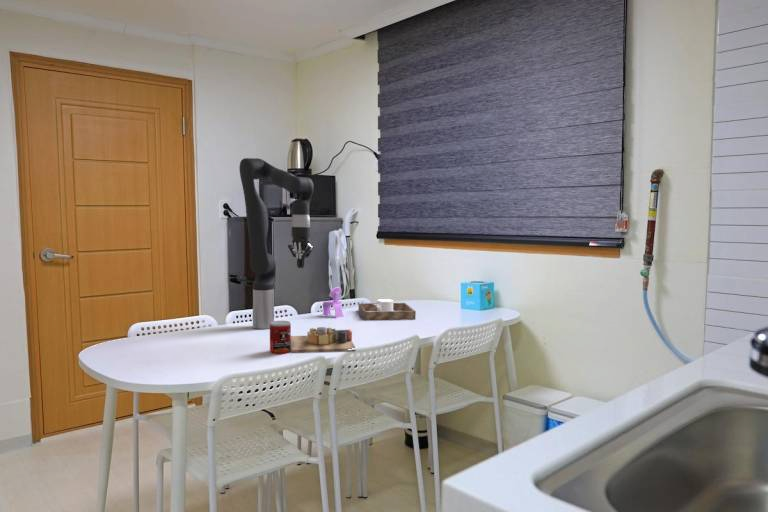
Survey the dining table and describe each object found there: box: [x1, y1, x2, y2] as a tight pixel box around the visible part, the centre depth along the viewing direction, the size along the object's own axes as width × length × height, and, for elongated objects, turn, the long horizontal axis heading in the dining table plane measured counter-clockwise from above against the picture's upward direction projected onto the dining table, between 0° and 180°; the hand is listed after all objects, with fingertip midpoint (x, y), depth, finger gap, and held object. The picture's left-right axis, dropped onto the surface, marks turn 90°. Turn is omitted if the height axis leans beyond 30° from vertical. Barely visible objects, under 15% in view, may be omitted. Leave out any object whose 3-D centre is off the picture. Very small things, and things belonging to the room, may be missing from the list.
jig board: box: [290, 326, 356, 354], centre depth 228 cm, size 24×24×6 cm
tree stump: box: [373, 298, 394, 312], centre depth 292 cm, size 20×19×8 cm
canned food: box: [269, 320, 292, 355], centre depth 215 cm, size 8×8×11 cm
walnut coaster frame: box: [358, 302, 417, 321], centre depth 294 cm, size 25×26×4 cm
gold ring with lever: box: [306, 327, 353, 345], centre depth 229 cm, size 11×18×5 cm, turn 103°
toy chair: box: [322, 286, 344, 319], centre depth 288 cm, size 8×9×15 cm
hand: (300, 267), depth 238 cm, fingers closed
